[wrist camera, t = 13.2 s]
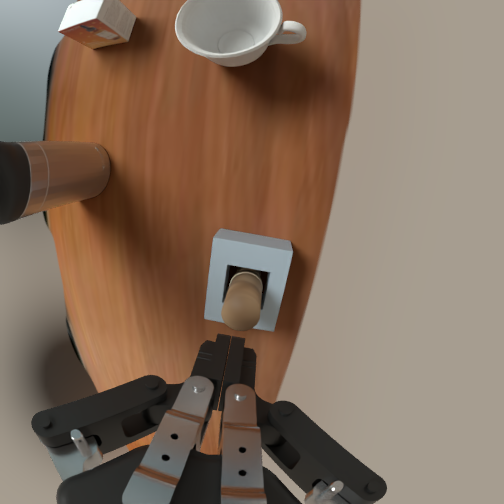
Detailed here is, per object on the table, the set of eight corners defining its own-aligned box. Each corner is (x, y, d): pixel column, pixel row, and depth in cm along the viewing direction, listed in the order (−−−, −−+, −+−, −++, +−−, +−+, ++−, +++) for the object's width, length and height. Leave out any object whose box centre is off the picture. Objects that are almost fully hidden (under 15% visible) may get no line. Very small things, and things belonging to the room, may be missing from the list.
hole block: (273, 313, 42) (273, 331, 37) (210, 302, 42) (204, 318, 37) (290, 240, 38) (293, 251, 33) (220, 228, 38) (213, 237, 34)
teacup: (291, 94, 32) (298, 70, 22) (187, 79, 32) (161, 55, 22) (306, 28, 28) (315, -7, 19) (207, 15, 28) (191, -19, 19)
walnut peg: (240, 289, 41) (230, 335, 30) (229, 264, 40) (214, 303, 28) (267, 281, 40) (266, 325, 29) (257, 255, 39) (251, 292, 28)
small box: (92, 49, 30) (56, 32, 20) (100, 25, 28) (68, 4, 18) (129, 42, 30) (95, 18, 20) (137, 16, 28) (108, -11, 18)
